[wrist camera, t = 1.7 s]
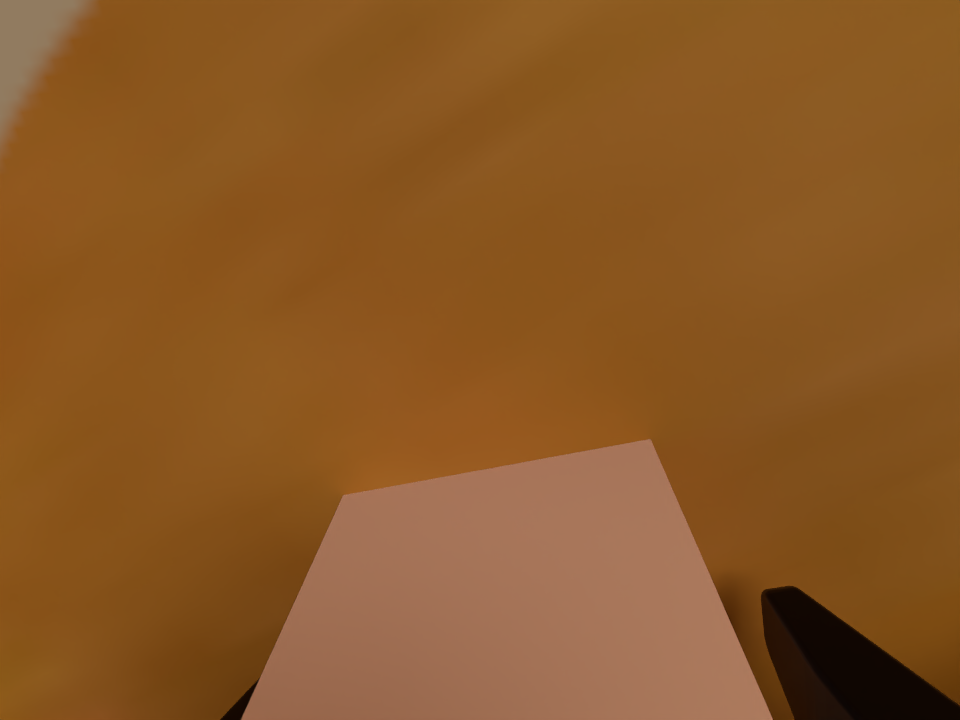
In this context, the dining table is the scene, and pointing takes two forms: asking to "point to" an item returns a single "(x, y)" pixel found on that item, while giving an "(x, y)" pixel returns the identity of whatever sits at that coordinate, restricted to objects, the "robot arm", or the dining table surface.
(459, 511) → the terracotta block
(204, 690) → the dining table surface
